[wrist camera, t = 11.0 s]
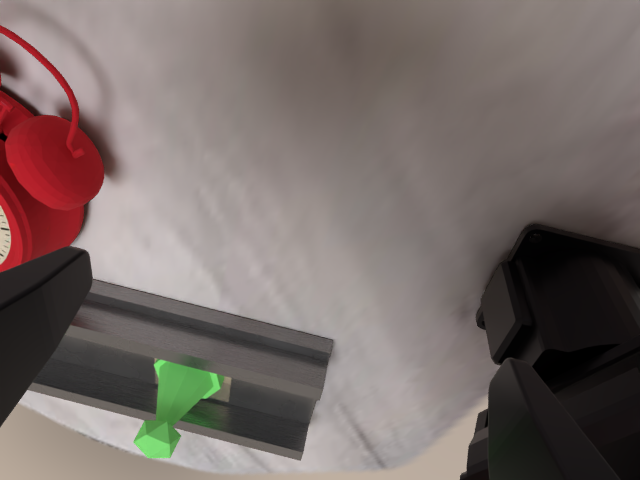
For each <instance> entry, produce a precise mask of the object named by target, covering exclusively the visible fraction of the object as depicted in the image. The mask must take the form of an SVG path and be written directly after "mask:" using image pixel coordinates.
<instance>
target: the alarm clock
mask: <svg viewBox="0 0 640 480" xmlns="http://www.w3.org/2000/svg"><path fill="white" fill-rule="evenodd" d="M0 33H2V34H4V35H5V36H7V37H9V38H10V39H12V40H13V41H15V42H16V43H18V44H19V45H21V46H22V47H23V48H24V49H26V50H27V51H28V52H29V53H31V54H32V55H33V56H34V57H35V58H36V59H37V60H38V61H39V62H41V63H42V64H43V65H44V66H45V67H46V68H47V69H48V70H49V71H50V72H51V73H52V74H53V76H54V77H55V78H56V79H57V81H58V82H59V83H60V85H61V86H62V87H63V89H64V90H65V92H66V94H67V96H68V98H69V101H70V104H71V107H72V121H71V122H70V121H68V120H66V119H64V118H60V117H57V116H53V115H41V116H36V117H35V116H34V115H33V114H32V113H31V112H30V111H28V110H27V109H26V108H25V107H24V106H22V105H21V104H20V103H18V102H17V101H15V100H14V99H13V98H11V97H10V96H8V95H7V94H5V93H4V92H2V91H0V272H2V271H5V270H8V269H10V268H13V267H15V266H18V265H20V264H23V263H25V262H28V261H30V260H33V259H35V258H38V257H40V256H43V255H45V254H48V253H50V252H53V251H55V250H58V249H60V248H63V247H66V246H70V245H71V243H72V242H73V241H74V240H75V239H76V237H77V235H78V233H79V232H80V229H81V226H82V222H83V217H84V204H86V203H87V202H89V201H90V200H91V199H93V198H94V197H95V196H96V195H97V194H98V192H99V190H100V188H101V186H102V184H103V180H104V166H103V163H102V160H101V156H100V154H99V152H98V150H97V148H96V147H95V145H94V144H93V142H92V141H91V140H90V138H89V137H88V136H87V135H86V134H85V133H84V132H83V131H82V130H81V129H80V128H79V127H78V123H79V108H78V103H77V100H76V98H75V95H74V93H73V91H72V89H71V88H70V86H69V85H68V83H67V82H66V80H65V79H64V77H63V76H62V75H61V74H60V72H59V71H58V70H57V69H56V68H55V67H54V66H53V65H52V64H51V63H50V62H49V61H48V60H47V59H46V58H45V57H44V56H43V55H42V54H41V53H40V52H38V51H37V50H36V49H35V48H34V47H33V46H31V45H30V44H29V43H27V42H26V41H25V40H23V39H22V38H20V37H19V36H18V35H16V34H15V33H13V32H12V31H10V30H8V29H6V28H5V27H3V26H1V25H0ZM0 86H1V74H0Z"/></svg>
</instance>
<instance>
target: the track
mask: <svg viewBox="0 0 640 480" xmlns="http://www.w3.org/2000/svg"><path fill="white" fill-rule="evenodd" d="M332 343H333V340H329V339H326V338H322V337H318V336H314V335H310V334H306V333H302V332H298V331H294V330H290V329H286V328H282V327H278V326H274V325H270V324H266V323H263V322H259V321H255V320H251V319H247V318H243V317H239V316H235V315H231V314H227V313H223V312H219V311H215V310H211V309H207V308H203V307H200V306H196V305H192V304H188V303H184V302H180V301H176V300H172V299H168V298H164V297H160V296H156V295H152V294H148V293H144V292H141V291H137V290H133V289H129V288H125V287H121V286H117V285H113V284H109V283H105V282H101V281H97V280H93V282H92V286H91V289H90V291H89V293H88V295H87V296H86V298H85V300H84V302H83V303H82V305H81V307H80V309H79V311H78V312H77V314H76V316H75V318H74V319H73V321H72V323H71V325H70V326H69V328H68V330H67V332H66V333H65V335H64V337H63V339H62V340H61V342H60V344H59V345H58V347H57V349H56V350H55V352H54V353H53V355H52V356H51V358H50V359H49V360H48V362H47V363H46V365H45V366H44V367H43V369H42V370H41V371H40V373H39V374H38V376H37V377H36V378H35V380H34V381H33V383H32V384H31V385H30V387H29V388H28V389H27V390H30V391H34V392H38V393H42V394H46V395H49V396H53V397H57V398H61V399H65V400H69V401H73V402H76V403H80V404H84V405H88V406H92V407H96V408H100V409H103V410H107V411H111V412H115V413H119V414H123V415H127V416H130V417H134V418H138V419H142V420H156V410H157V396H158V382H159V378H158V375H157V372H156V370H155V367H154V363H155V362H156V360H157V359H160V360H164V361H168V362H172V363H176V364H180V365H183V366H187V367H191V368H195V369H199V370H203V371H207V372H211V373H215V374H219V375H222V376H224V381H223V383H222V386H221V388H220V389H219V390H218V391H217V392H215V393H214V394H212V395H211V396H209V397H208V398H206V399H204V398H201V399H200V400H199V401H198V402H197V403H196V404H195V405H194V406H193V407H192V408H191V409H190V410H189V411H188V412H187V413H186V414H185V415H184V416H183V417H182V418H181V419H180V420H179V421H178V422H177V423H176V424H174V425H173V426H172V427H173V428H177V429H181V430H184V431H188V432H192V433H196V434H200V435H204V436H207V437H211V438H215V439H219V440H223V441H227V442H231V443H234V444H238V445H242V446H246V447H250V448H254V449H258V450H261V451H265V452H269V453H273V454H277V455H281V456H285V457H288V458H292V459H296V460H300V461H301V458H302V455H303V451H304V446H305V441H306V436H307V431H308V426H309V422H310V419H311V416H312V412H313V409H314V406H315V403H316V400H320V398H321V395H322V391H323V387H324V382H325V376H326V371H327V365H328V361H329V357H330V354H331V349H332Z"/></svg>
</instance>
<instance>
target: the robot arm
mask: <svg viewBox="0 0 640 480" xmlns="http://www.w3.org/2000/svg"><path fill="white" fill-rule="evenodd" d="M533 234H540V235H539V236H538V237H536V238H530V237H531V236H532V235H533ZM92 282H93V277H92V269H91V262H90V256H89V253H88V252H87V251H86V250H84V249H80V248H76V247H72V246H66V247H63V248H60V249H58V250H55V251H53V252H50V253H48V254H45V255H43V256H40V257H38V258H35V259H33V260H30V261H28V262H25V263H23V264H20V265H18V266H15V267H13V268H10V269H8V270H5V271H2V272H0V427H1V425H2V424H3V422H4V421H5V420H6V418H7V417H8V416H9V414H10V413H11V412H12V410H13V409H14V407H15V406H16V405H17V403H18V402H19V400H20V399H21V398H22V396H23V395H24V394H25V392H26V391H27V389H28V388H29V387H30V385H31V384H32V383H33V381H34V380H35V378H36V377H37V376H38V374H39V373H40V371H41V370H42V369H43V367H44V366H45V365H46V363H47V362H48V360H49V359H50V358H51V356H52V355H53V353H54V352H55V350H56V349H57V347H58V345H59V344H60V342H61V340H62V339H63V337H64V335H65V333H66V332H67V330H68V328H69V326H70V325H71V323H72V321H73V319H74V318H75V316H76V314H77V312H78V311H79V309H80V307H81V305H82V303H83V302H84V300H85V298H86V296H87V295H88V293H89V291H90V289H91V286H92ZM481 305H482V306H481V308H480V310H479V311H478V313H477V315H476V322H477V326H478V327H479V328H481V329H484V330H486V332H487V338H488V344H489V349H490V355H491V359H492V360H493V362H494V364H497V365H501V366H500V368H499V369H498V371H497V372H496V374H495V375H494V377H493V379H492V380H491V382H490V385H489V392H488V409H486V410H484V411H482V412H480V413H479V414H478V418H477V423H476V428H475V433H474V437H473V439H472V441H471V443H470V445H469V449H468V459H467V471H466V472H464V473H462V474H461V475H460V480H640V249H636V248H632V247H628V246H624V245H620V244H616V243H612V242H608V241H603V240H599V239H595V238H591V237H587V236H583V235H579V234H575V233H571V232H567V231H563V230H559V229H555V228H551V227H547V226H543V225H538V224H533V225H529V226H528V227H526V228H525V229H524V230H523V232H522V234H521V235H520V237H519V239H518V241H517V243H516V244H515V246H514V248H513V250H512V252H511V253H510V255H509V257H508V259H507V260H505V261H503V262H502V263H500V265H499V266H498V268H497V270H496V272H495V274H494V276H493V277H492V279H491V281H490V283H489V285H488V287H487V288H486V290H485V292H484V294H483V296H482V298H481ZM483 320H484V321H483Z"/></svg>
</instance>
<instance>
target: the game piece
mask: <svg viewBox="0 0 640 480" xmlns="http://www.w3.org/2000/svg"><path fill="white" fill-rule="evenodd" d="M154 367H155V370H156V372H157V375H158V378H159V382H158V396H157V410H156V420H145V421H144V423H143V425H142V427H141V429H140V430H139V432H138V434H137V436H136V438H135V440H134V443H135V444H136V446H137V447H138V448H139V449H140V450H141V451H142V452H143V453H144V454H145V455H146V456H147V457H148V458H170V457H171V455H172V453H173V451H174V449H175V447H176V445H177V443H178V441H179V439H180V437H181V435H180V434H179V433H178V432H177V431H176V430H175V429H174V428H173V427H172V426H173V425H174V424H176V423H177V422H178V421H179V420H180V419H181V418H182V417H183V416H184V415H185V414H186V413H187V412H188V411H189V410H190V409H191V408H192V407H193V406H194V405H195V404H196V403H197V402H198V401H199V400H200V399H201V398H204V399H206V398H208V397H209V396H211V395H212V394H214V393H215V392H217V391H218V390H219V389H220V388H221V386H222V383H223V381H224V376H222V375H219V374H215V373H211V372H207V371H203V370H199V369H195V368H191V367H187V366H183V365H180V364H176V363H172V362H168V361H164V360H160V359H157V360H156V362H155V363H154Z"/></svg>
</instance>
